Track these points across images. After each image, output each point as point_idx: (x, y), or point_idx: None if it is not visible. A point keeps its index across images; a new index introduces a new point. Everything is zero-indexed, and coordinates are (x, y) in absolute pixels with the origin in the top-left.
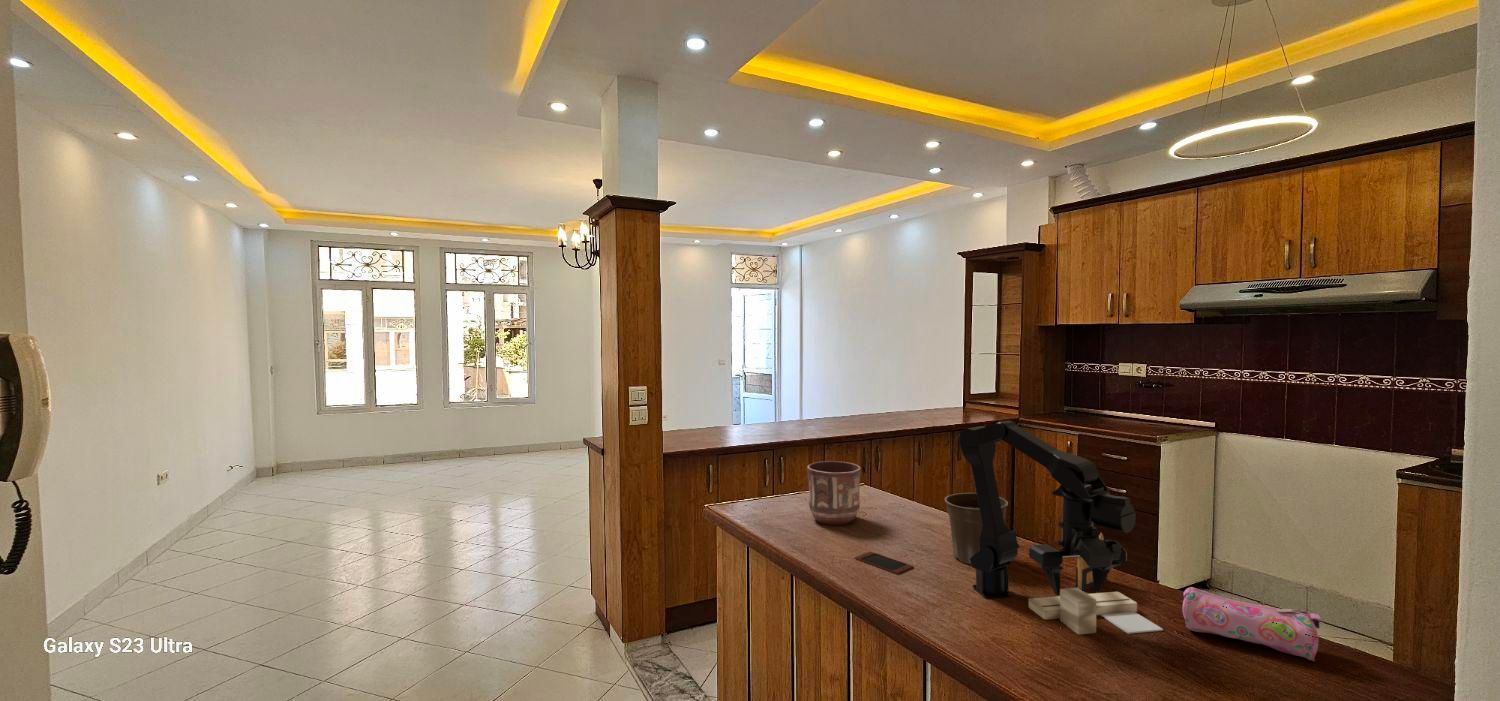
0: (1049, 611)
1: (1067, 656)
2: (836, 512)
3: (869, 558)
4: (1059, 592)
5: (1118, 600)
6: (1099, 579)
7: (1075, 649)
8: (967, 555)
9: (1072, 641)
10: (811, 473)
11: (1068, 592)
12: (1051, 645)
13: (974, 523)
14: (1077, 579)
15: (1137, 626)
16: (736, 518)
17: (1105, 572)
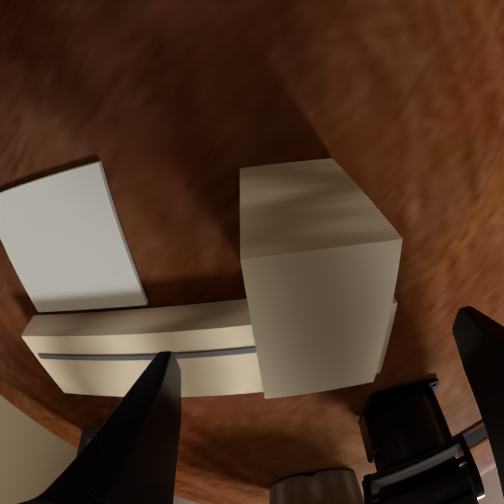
0: None
1: (466, 11)
2: None
3: (476, 442)
4: (473, 317)
5: (69, 355)
6: (148, 432)
7: (417, 42)
8: (352, 484)
9: (394, 102)
10: None
11: (364, 352)
12: (478, 94)
13: None
14: None
15: (48, 215)
16: (495, 463)
17: (88, 482)
